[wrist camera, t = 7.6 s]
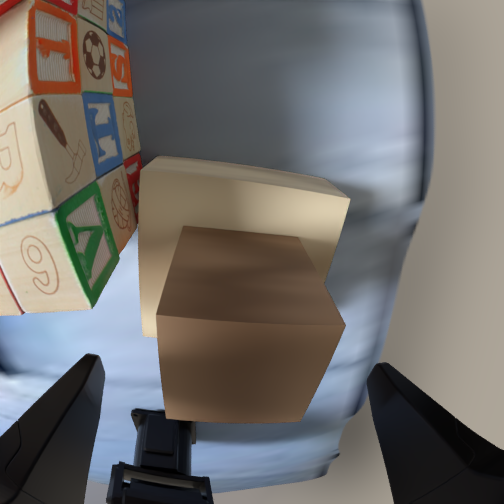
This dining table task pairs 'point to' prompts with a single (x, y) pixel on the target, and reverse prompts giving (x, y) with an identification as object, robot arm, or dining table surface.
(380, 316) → the dining table surface
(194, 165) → the birch block
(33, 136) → the stack of blocks
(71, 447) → the robot arm
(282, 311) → the walnut cube
